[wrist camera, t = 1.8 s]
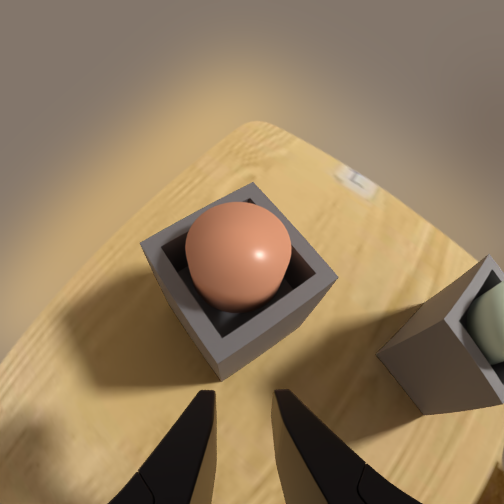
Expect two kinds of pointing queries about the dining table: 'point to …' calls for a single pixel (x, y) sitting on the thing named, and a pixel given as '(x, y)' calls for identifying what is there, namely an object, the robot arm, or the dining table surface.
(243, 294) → the terracotta button
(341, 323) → the dining table surface
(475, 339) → the sage button
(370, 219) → the dining table surface
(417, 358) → the grey square socket
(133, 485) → the robot arm
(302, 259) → the grey square housing
